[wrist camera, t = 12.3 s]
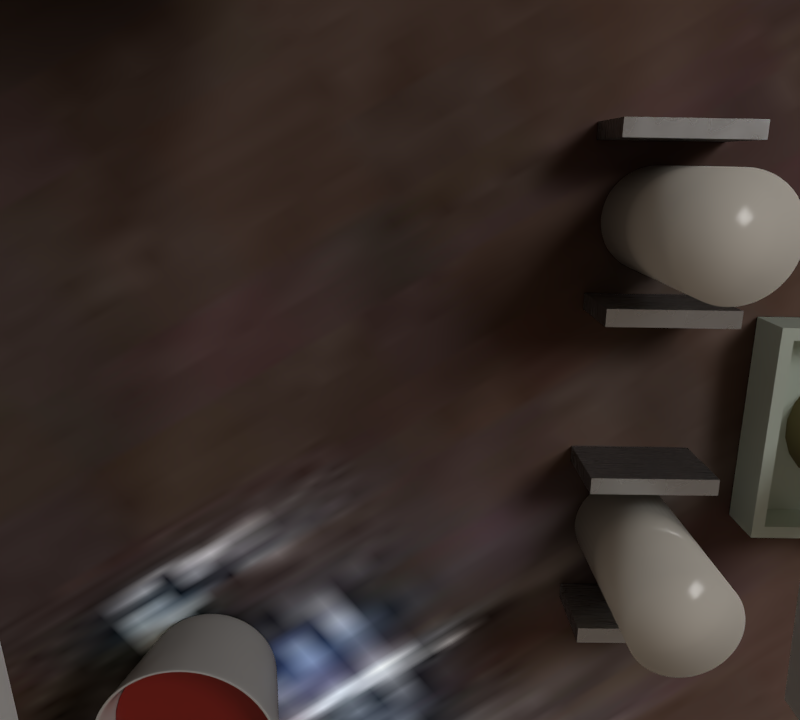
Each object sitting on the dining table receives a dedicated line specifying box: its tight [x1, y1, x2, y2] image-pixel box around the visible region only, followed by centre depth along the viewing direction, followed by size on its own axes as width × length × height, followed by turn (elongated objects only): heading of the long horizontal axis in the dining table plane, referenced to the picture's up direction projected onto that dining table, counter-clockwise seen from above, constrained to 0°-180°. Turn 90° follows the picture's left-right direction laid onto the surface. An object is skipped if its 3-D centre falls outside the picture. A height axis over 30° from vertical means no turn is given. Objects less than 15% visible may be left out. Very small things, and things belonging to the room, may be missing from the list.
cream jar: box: [601, 165, 800, 307], centre depth 31 cm, size 5×5×9 cm
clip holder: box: [560, 117, 770, 643], centre depth 36 cm, size 25×6×4 cm, turn 179°
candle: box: [95, 614, 279, 720], centre depth 39 cm, size 9×9×6 cm
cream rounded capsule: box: [575, 494, 745, 678], centre depth 35 cm, size 5×5×9 cm
